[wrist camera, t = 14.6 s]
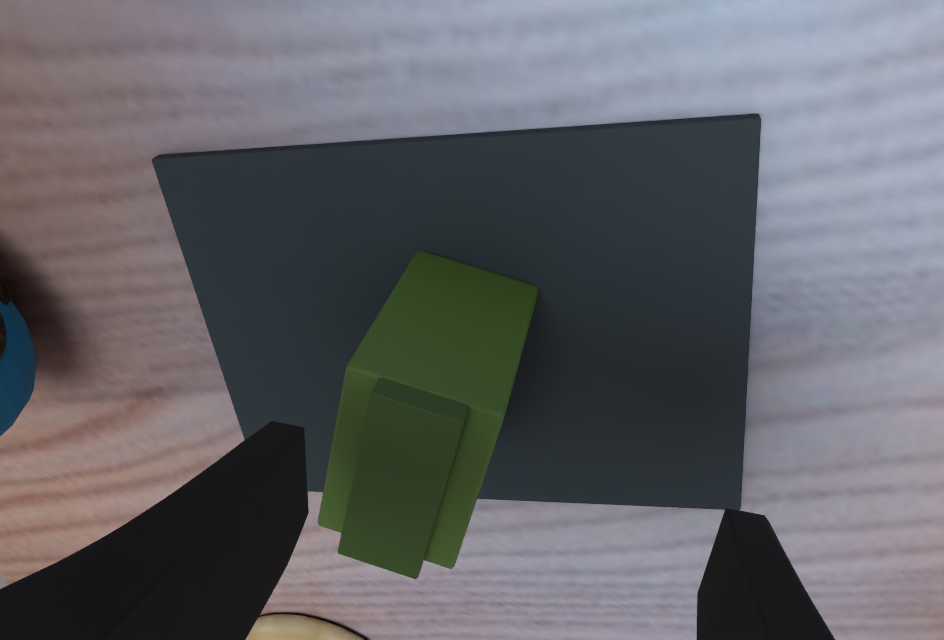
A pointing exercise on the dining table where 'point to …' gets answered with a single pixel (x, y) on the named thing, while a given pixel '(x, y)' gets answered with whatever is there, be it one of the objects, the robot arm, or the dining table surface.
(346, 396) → the green stepped block
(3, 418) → the ornament
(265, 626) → the hand bell
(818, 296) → the dining table surface
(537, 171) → the mat
